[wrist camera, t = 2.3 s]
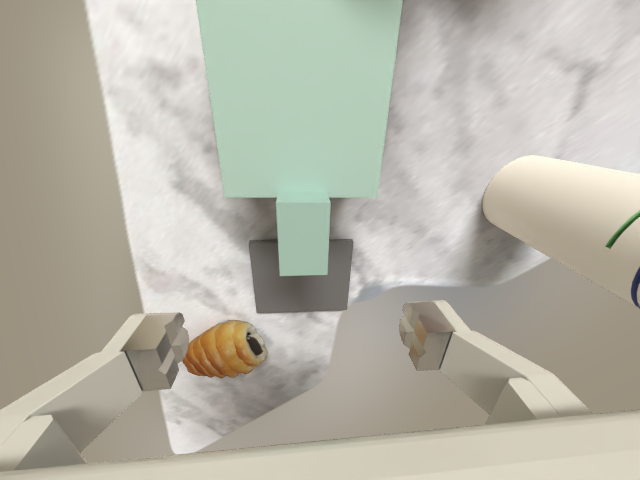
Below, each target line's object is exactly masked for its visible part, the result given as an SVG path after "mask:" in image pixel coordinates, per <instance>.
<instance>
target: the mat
mask: <svg viewBox="0 0 640 480" xmlns="http://www.w3.org/2000/svg"><path fill="white" fill-rule="evenodd" d="M249 248H250V257H251V266H252V275H253V284H254V293H255V302H256V310H257V313H271V312H299V311H327V310H347V303H348V292H349V282H350V271H351V260H352V250H353V240H352V239H334V240H329V251H328V273H327V275H301V276H280V270H279V251H278V240H254V241H250V242H249Z"/></svg>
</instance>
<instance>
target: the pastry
mask: <svg viewBox="0 0 640 480" xmlns="http://www.w3.org/2000/svg"><path fill="white" fill-rule="evenodd" d="M266 357H267V350H266V348H265V345H264V340H263V338H262V337H261V336H260V335H259V334H257V333H256V330H255V328H254V327H253V326H252V324H250V323H247V322H242V321H238V320H228V321H227V322H224V323H221V324H217V325H216V326H214V327H212V328H210V329H208V330H207V331H205V332H204V333H203V334H201V335H199V336H198V337H197V338H195V339H194V340H192V341H191V342H190V343H189V345H188V350H187V353H186V355H185V358H184V359H183V363H184V364H185V366H186V367H187V370H188V372H190V373H192V374H195V375H198V376H208V377H213V376H217V377H219V378H223V377H225V376H229V377H232V378H234V377H236V376H237V375H238V374H239V373H244V374H248V373H249V372H251V371H252V370H253V368H254V367H255V366H258V365H259V364H260V363H261V362H263V361H264V359H265V358H266Z"/></svg>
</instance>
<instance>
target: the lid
mask: <svg viewBox="0 0 640 480" xmlns="http://www.w3.org/2000/svg"><path fill="white" fill-rule="evenodd" d="M402 4H403V0H196V5H197V12H198V19H199V26H200V32H201V39H202V46H203V53H204V60H205V66H206V73H207V80H208V87H209V94H210V101H211V107H212V114H213V121H214V128H215V135H216V141H217V148H218V155H219V162H220V169H221V175H222V182H223V189H224V196H225V197H250V198H277V200H276V215H277V233H278V251H279V270H280V276H301V275H327V273H328V251H329V230H330V208H331V202H330V199H329V198H377V195H378V188H379V180H380V172H381V165H382V157H383V149H384V142H385V134H386V126H387V119H388V111H389V103H390V96H391V88H392V80H393V73H394V65H395V57H396V50H397V42H398V34H399V27H400V19H401V11H402Z"/></svg>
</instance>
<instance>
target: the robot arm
mask: <svg viewBox="0 0 640 480" xmlns="http://www.w3.org/2000/svg"><path fill="white" fill-rule="evenodd" d="M402 310H403V313H404V316H403V317H402V319H400V325H399V330H400V336H401V339H402V341H403V344H404V345H405V346H407V347H408V348H409V349H410V352H409V356H410V358H411V360H412V362H413V364H414V366H415V368H416V370H417V371H419V370H440V372H441V373H443V374H444V375H445V376H446V377H447V378H448V379H449V380H451V381H452V382H453V383H454V384H455V385H456V386H458V387H459V388H460V389H461V390H462V391H463V392H464V393H465V394H467V395H468V396H469V397H470V398H471V399H472V400H473V401H474V402H476V403H477V404H478V405H479V406H480V407H481V408H483V409H484V410H485V411H486V412H487V413H488V414H490V416H489V418H488V419H487V421H486V423H485V425H476V426H466V427H456V428H445V429H435V430H425V431H414V432H406V433H405V432H404V433H394V434H384V435H373V436H363V437H353V438H343V439H333V440H322V441H312V442H302V443H293V444H282V445H271V446H261V447H251V448H241V449H231V450H220V451H210V452H201V453H189V454H179V455H169V456H158V457H148V458H138V459H127V460H117V461H107V462H97V463H87V461H86V460H85V459H84V457H83V456H82V455H81V452H82V451H83V450H84V449H85V448H86V447H87V446H88V445H89V444H90V443H91V442H92V441H93V440H94V439H95V438H96V437H97V436H98V435H99V434H100V433H101V432H102V431H104V429H106V428H107V427H108V426H109V424H111V423H112V422H113V421H114V420H115V419H116V418H117V417H118V416H119V415H120V414H121V413H122V412H123V411H124V410H125V409H126V408H127V407H129V405H130V404H132V403H133V402H134V401H135V400H136V399H137V398H138V397H139V396H140V395H141V394H142V391H152V390H162V389H171V387H172V385H173V382H174V380H175V378H176V376H177V373H178V371H179V368H178V365H177V364H178V363H179V362H180V361H182V360H183V359H184V358H185V355H186V353H187V350H188V345H189V335H188V331H187V330H186V329H185V328H183V327H182V325H183V323H184V318H183V315H182V314H181V313H150V314H134V315H132V316H130V317H129V318H128V319H127V321H126V322H125V323H124V324H123V326H122V327H121V328H120V329H119V330H118V332H117V333H116V334H115V335H114V337H113V338H112V339H111V340H110V342H109V343H108V344H107V345H106V347H105V348H104V349H103V350H102V351H101V353H95V354H93V355H91V356H89V357H88V358H86V359H85V360H83V361H81V362H80V363H78V364H76V365H75V366H73V367H71V368H70V369H68V370H66V371H65V372H63V373H61V374H60V375H58V376H56V377H55V378H53V379H51V380H50V381H48V382H47V383H45V384H43V385H41V386H40V387H38V388H36V389H35V390H33V391H31V392H30V393H28V394H26V395H25V396H23V397H21V398H20V399H18V400H16V401H15V402H13V403H11V404H10V405H8V406H6V407H5V408H3V409H2V410H0V480H640V410H631V411H621V412H610V413H600V414H593V413H592V412H591V411H590V410H589V409H588V408H587V407H586V406H585V405H584V404H583V403H582V402H581V401H580V400H579V399H578V398H577V397H576V396H575V395H574V394H573V393H572V392H571V391H570V390H569V389H568V388H567V387H566V386H565V385H564V384H563V383H562V382H561V381H560V380H559V379H558V378H557V377H556V376H555V375H554V374H552V373H551V372H549V371H547V370H545V369H543V368H542V367H540V366H538V365H536V364H534V363H533V362H531V361H529V360H527V359H525V358H524V357H522V356H520V355H518V354H516V353H514V352H513V351H511V350H509V349H507V348H505V347H504V346H502V345H500V344H498V343H496V342H494V341H493V340H491V339H489V338H487V337H485V336H483V335H482V334H480V333H478V332H476V331H471V330H470V329H469V328H468V327H467V325H466V324H465V323H464V322H463V321H462V319H461V318H460V317H459V316H458V315H457V313H456V312H455V311H454V310H453V309H452V307H451V306H450V305H449V304H448V303H447V302H446V301H445V300H434V301H421V302H405V304H404V305H403V309H402Z"/></svg>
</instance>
